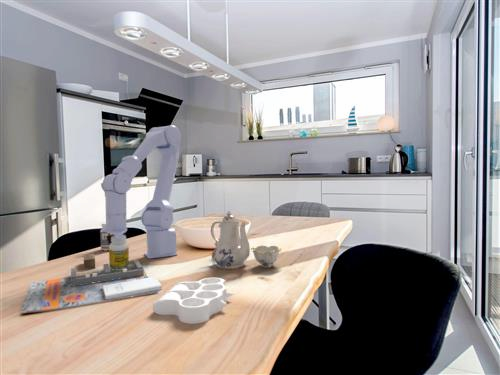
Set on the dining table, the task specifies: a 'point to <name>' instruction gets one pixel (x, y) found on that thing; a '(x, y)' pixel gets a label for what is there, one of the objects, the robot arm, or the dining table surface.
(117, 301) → the dining table surface
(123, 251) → the supplement bottle
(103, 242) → the pill bottle
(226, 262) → the chinaware
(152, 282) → the external hard drive
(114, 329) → the dining table surface
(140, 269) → the slot rack
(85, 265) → the walnut bar
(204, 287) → the white egg tray
